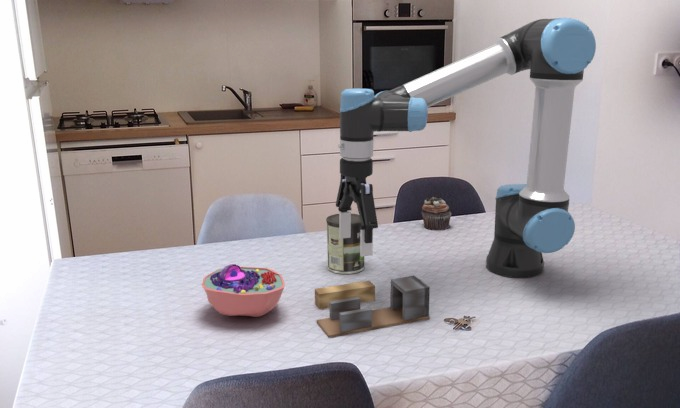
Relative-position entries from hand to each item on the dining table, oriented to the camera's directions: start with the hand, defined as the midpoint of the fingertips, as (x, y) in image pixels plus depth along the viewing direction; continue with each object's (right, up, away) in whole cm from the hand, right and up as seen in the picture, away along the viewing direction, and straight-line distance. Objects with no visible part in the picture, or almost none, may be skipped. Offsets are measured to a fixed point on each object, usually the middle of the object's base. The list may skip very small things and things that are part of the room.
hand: (355, 246), depth 151 cm
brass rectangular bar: (-2, -14, +2) cm, 14 cm away
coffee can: (-2, -8, +24) cm, 25 cm away
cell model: (-25, -15, -3) cm, 30 cm away
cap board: (+4, -16, -8) cm, 18 cm away
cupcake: (+28, +2, +59) cm, 65 cm away
